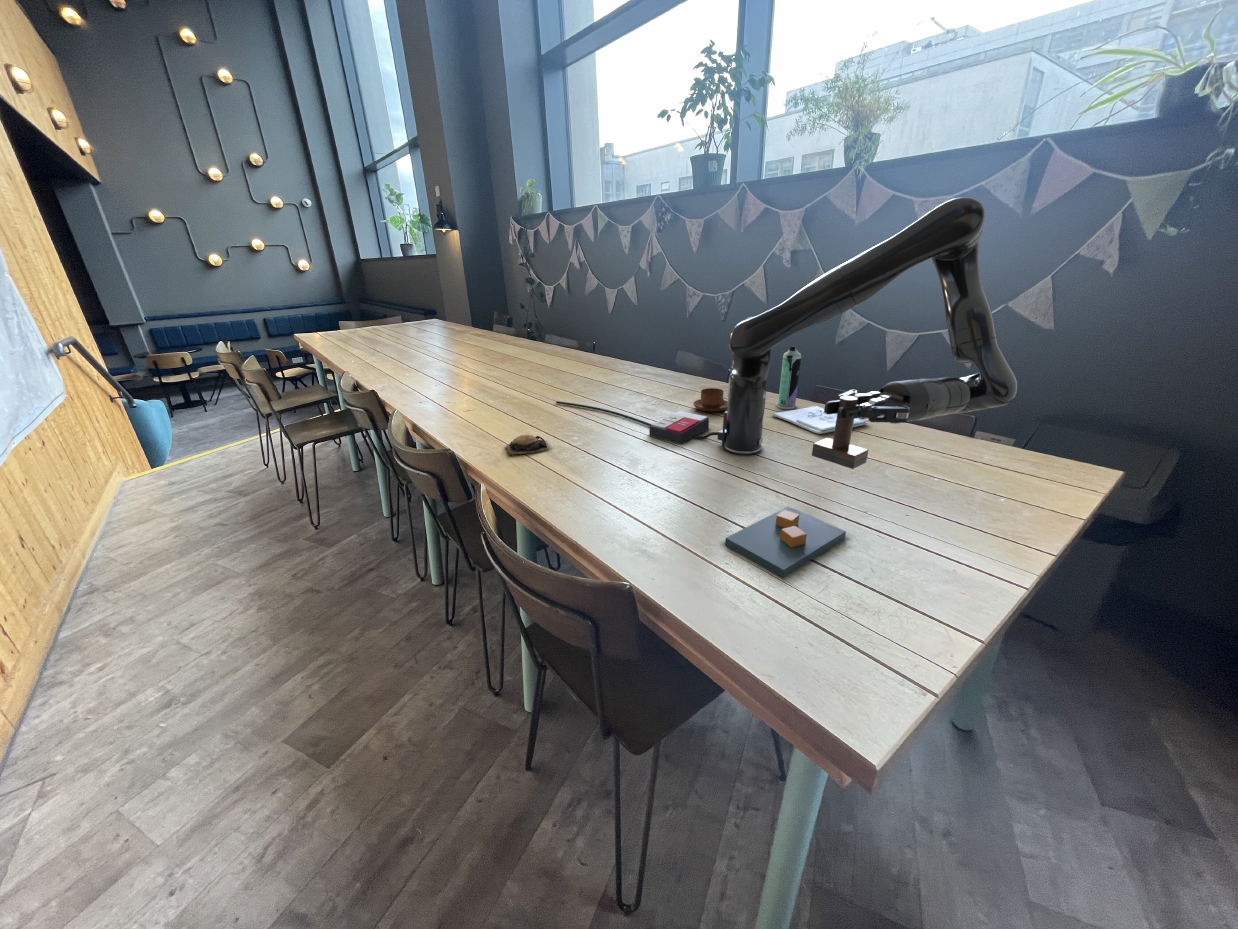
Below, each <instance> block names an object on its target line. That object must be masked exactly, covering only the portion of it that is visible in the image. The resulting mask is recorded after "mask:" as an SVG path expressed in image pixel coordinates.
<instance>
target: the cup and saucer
mask: <svg viewBox="0 0 1238 929" xmlns="http://www.w3.org/2000/svg"><path fill="white" fill-rule="evenodd" d="M727 404H728V400H725V399H724V390H723V389H720V388H715V387H714V388H713V387H710V388H709V387H708V388H703V389H701V390H700V399H697V400H695V401H693V406H694V408H696V409H698V410H699V411H703V412H710V413H711V412H713V413H715V412H721V411H725V410H727Z"/></svg>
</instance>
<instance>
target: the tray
mask: <svg viewBox="0 0 1238 929" xmlns="http://www.w3.org/2000/svg"><path fill="white" fill-rule="evenodd" d="M783 510H787V511H790V512H793V513H796V514H799V521H798V524H797V525H796V527H798V528H799V529H801V530H802V531H804V532H805V533H806V534H807V537H806V543H805V544H802V545H799V546H795V547H790V546H789V545H787V544H786V543H785V542H783V541H782V540H781V539H780V534H781V529H784V528H783V527H780V526H778V525H776V516H777V515H778V514H779V513H780V512H781V511H783ZM846 535H847V530H844V529H842V528H839V527H837V526H835V525H832V524H830V523H828V522H825V521H823V520H820V519H818V518H816V517H813V516H811V515H809V514H808V513H805V512H802V511H800V510H798V509H795V508H792V507H790V506H786V507H784V508H781V509H780V510H778V511H776V512H774V513H772V514H770V515H768V516H765V517H764V518H762V519H760V520H758V521H756V522H754V523H752V524H750V525H748V526H746V527H744V528H742V529H740V530H738V531H736V532H734V533H732V534H730V535H728V536H727V537H725V540H724V545H725V546H726V547H728V548H729V549H732V550H734V551H735V552H737V553H739V554H740V555H742V556H744V557H746V558H747V559H749V560H751V561H753V562H755V563H756V564H757V565H760V566H762V567H764V568H765V569H767V570H768V571H770V572H772V573H774V574H776V575H777V576H779V577H781V578H785V577H786V576H788V575H789V574H791V573H792V572H794V571H796V570H797V569H799V568H801V567H802V566H804V565H805V564H807V563H808V562H810V561H811V560H813V559H815V558H816V557H819V555H822V553H824V552H825V551H827V550H829V549H830V548H832V547H834V546H835V545H837V544H839V543H840V542H842V541H844V540H845V539H846Z"/></svg>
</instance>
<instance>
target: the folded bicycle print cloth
mask: <svg viewBox="0 0 1238 929" xmlns="http://www.w3.org/2000/svg"><path fill="white" fill-rule="evenodd" d="M824 409H825V408H822V407H820V406H817V405H815V406H814V405H813V406H808V407H804V408H797V409H790V410H786V411H785V410H784V411H777V412H773V413H772V416H773V417H775V418H778V419H781V420H784V421H786V422H789V423H791V424H794V425H795V426H798V427H800V428H802V429H805V430H807V431H810V432H812V433H814V434H818V435H819V434H820V435H822V434H826V433H831V432H834V431H835V425H836V419H837V413H836V414H829V415H828V414H826V413H824ZM868 422H870V421H869V419H863V420H861V419H858V418H854V423H853V428H856V427H860V426H866V425H867V423H868Z"/></svg>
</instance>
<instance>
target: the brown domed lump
mask: <svg viewBox="0 0 1238 929" xmlns="http://www.w3.org/2000/svg"><path fill="white" fill-rule="evenodd" d="M547 445H548V444H547V442H546V440H545V438H543V437H541V436H539V435H536V436H534V435H532V434H521V435H518V436H517V437H515V438H513V440H512V441H510V443H507V444H506V449H507V452H508V455H510V456H511V455H512V456H513V455H524V454H532V453H539V452H545V451H549V447H548V446H547Z"/></svg>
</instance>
